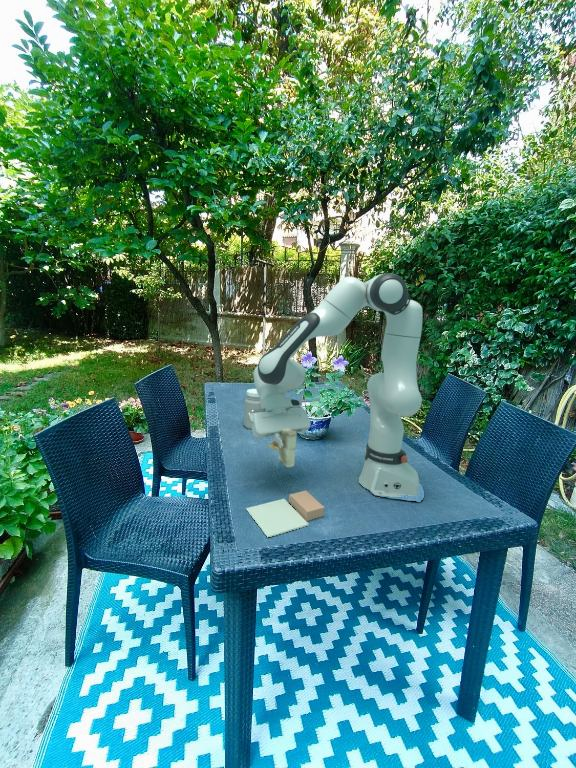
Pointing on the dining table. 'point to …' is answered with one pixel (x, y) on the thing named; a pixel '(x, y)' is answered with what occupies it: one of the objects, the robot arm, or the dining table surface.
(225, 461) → the dining table surface
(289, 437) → the birch block
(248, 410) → the jar
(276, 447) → the shard
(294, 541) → the dining table surface
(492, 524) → the dining table surface
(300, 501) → the terracotta step
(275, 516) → the rubber mat
